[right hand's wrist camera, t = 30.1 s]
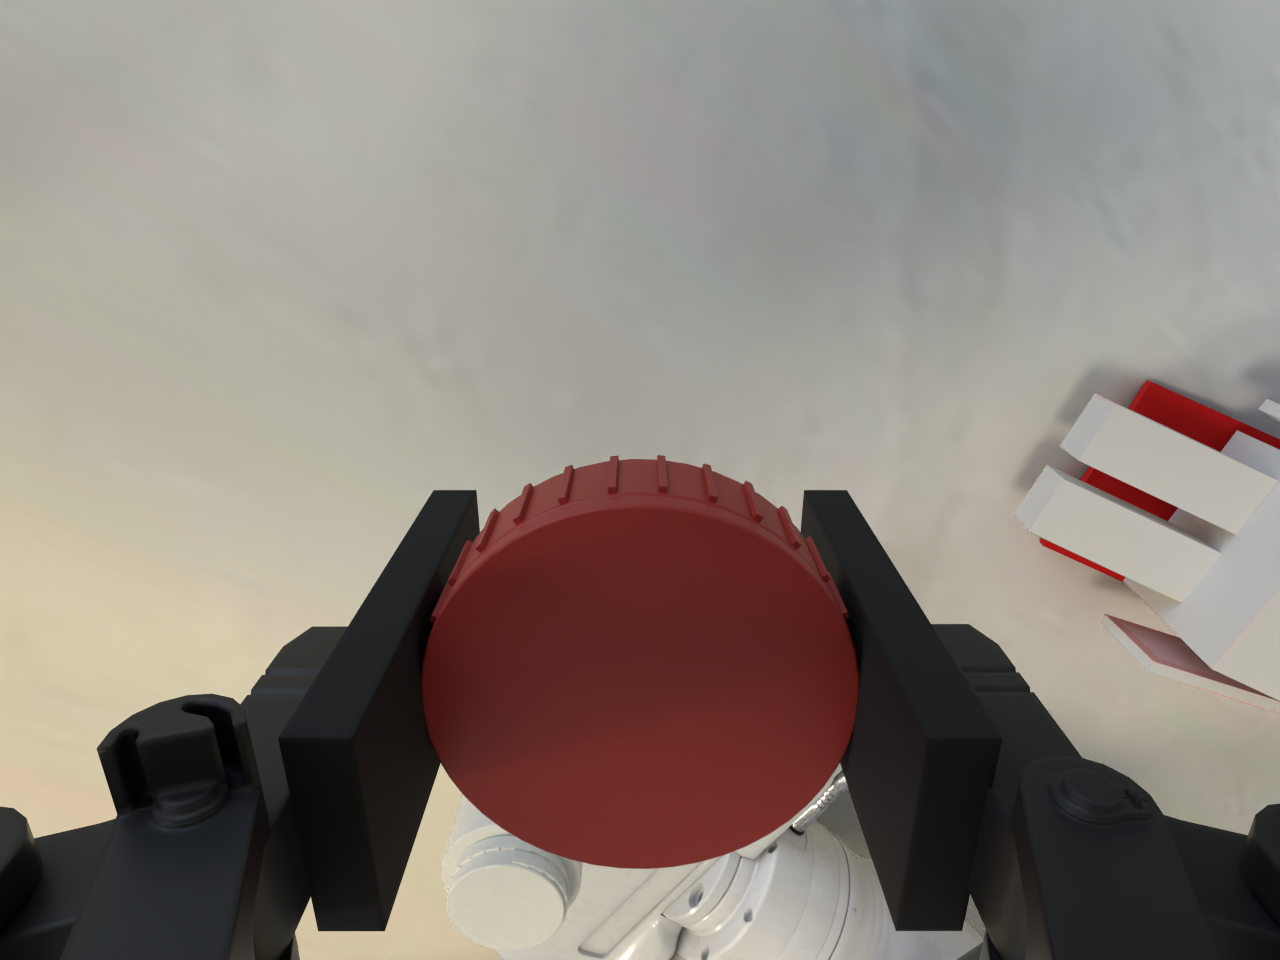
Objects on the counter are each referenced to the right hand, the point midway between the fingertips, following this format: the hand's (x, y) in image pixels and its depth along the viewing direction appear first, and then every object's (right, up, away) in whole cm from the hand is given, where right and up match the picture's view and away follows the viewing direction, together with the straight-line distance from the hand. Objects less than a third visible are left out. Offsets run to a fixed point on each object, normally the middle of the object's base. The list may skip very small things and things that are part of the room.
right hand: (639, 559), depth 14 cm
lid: (0, -1, -4) cm, 4 cm away
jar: (-5, -9, +29) cm, 31 cm away
